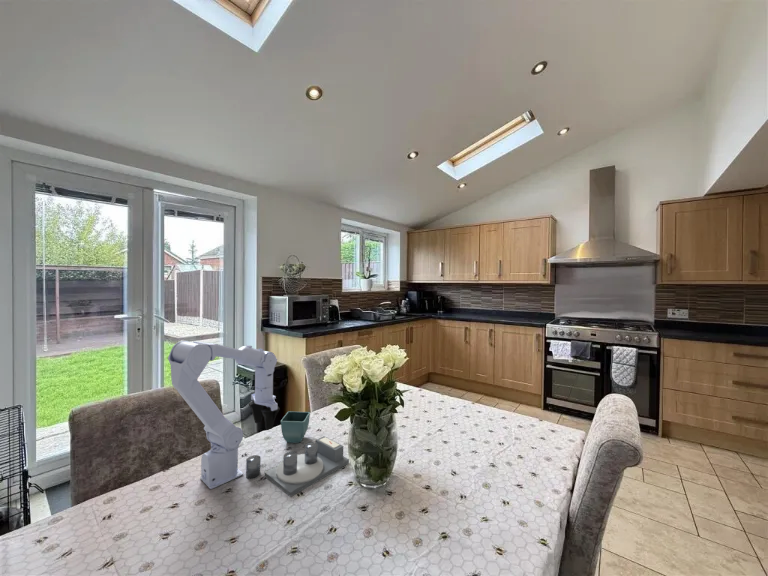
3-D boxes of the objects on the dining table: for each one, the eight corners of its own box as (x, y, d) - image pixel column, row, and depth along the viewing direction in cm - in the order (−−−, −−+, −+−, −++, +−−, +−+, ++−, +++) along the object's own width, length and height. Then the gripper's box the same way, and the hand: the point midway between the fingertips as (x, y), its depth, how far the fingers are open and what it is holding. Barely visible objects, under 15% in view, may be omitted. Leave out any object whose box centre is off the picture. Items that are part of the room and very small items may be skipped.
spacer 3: (309, 466, 97) (309, 450, 97) (301, 461, 100) (302, 445, 100) (319, 460, 100) (320, 445, 100) (312, 456, 103) (312, 441, 103)
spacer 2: (288, 477, 92) (289, 460, 92) (280, 472, 94) (280, 455, 94) (299, 470, 95) (300, 454, 95) (291, 466, 97) (291, 450, 97)
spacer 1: (250, 480, 93) (250, 464, 93) (243, 475, 96) (243, 459, 96) (262, 474, 96) (262, 458, 96) (256, 469, 99) (256, 453, 99)
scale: (290, 496, 87) (290, 476, 87) (264, 475, 96) (264, 457, 96) (348, 463, 103) (349, 446, 103) (322, 448, 112) (322, 432, 112)
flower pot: (303, 446, 113) (304, 421, 113) (279, 445, 114) (280, 421, 114) (310, 434, 122) (310, 411, 122) (287, 434, 122) (288, 411, 122)
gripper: (286, 388, 106) (285, 428, 106) (264, 378, 115) (264, 415, 115) (266, 393, 100) (265, 435, 101) (245, 383, 110) (245, 421, 110)
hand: (263, 425), depth 108 cm, fingers open, 7 cm apart
